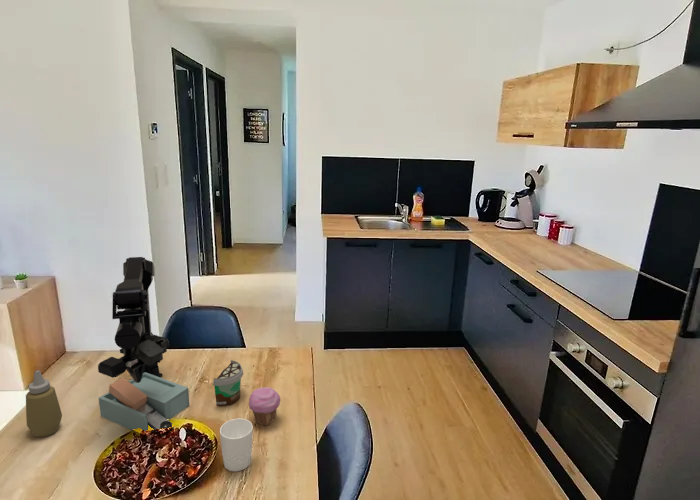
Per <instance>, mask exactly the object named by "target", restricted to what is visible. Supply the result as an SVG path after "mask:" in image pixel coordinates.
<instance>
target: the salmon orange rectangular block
mask: <svg viewBox="0 0 700 500" xmlns="http://www.w3.org/2000/svg"><path fill="white" fill-rule="evenodd" d="M108 392H109V393H111V394H112V395H113V396H115V397H116V398H117V399H118V400H120V401H121V402H122V403H124V404H125V405H126V406H127V407H129V408H132V409H134V410H135V409H137V408H139V407H140V406H142V405H144V404H145V403H146V401H147V395H146V394H144V393H143V392H142V391H140V390H139V389H138V388H136V387H135V386H134V385H132V384H131V383H130V382H128V380H127V379H126V378H124V377H121V378H120V379H118V380H116V381H114V382H113V383H111V384H109V387H108Z"/></svg>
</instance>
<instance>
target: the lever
mask: <svg viewBox="0 0 700 500" xmlns="http://www.w3.org/2000/svg"><path fill="white" fill-rule="evenodd" d="M115 400H117V401H118V402H119V403H121V404H122V405H125V404H124V403H122V402H121V401H120V400H118V399H117V398H116V399H115ZM125 406H126V405H125ZM135 410H137V411H139V412H142V413H144V414H146V415H147V423H148V425H149V426H150V427H151V428H153V429H154V431H155V430H156V429H160V428H161V429H162V428H169V427H172V424H173V423H172V422H171V421H170V420H167V419H166V418H164V417H163V416H162V415H160V414H159V413H158V412H157V411H156V410H155V409H153V408H151V407H150V406H149V405H147V404H146V403H145V404H144V405H142V406H140V407H139V408H137V409H135Z"/></svg>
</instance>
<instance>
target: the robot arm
mask: <svg viewBox="0 0 700 500" xmlns="http://www.w3.org/2000/svg"><path fill="white" fill-rule="evenodd" d="M122 267H123V271H122V272H123V274H122V275H123V276H124V277H123V281H122V282H120V283H118V284H117V285H116V288H115V291H113V292H112V312H111V313H112V316H111V317H112V320H119V322H118V323H119V324H118V326H117V329H116V333H115V336H114V343H115V345H116V346H117V347H119V348H120V349H119V354H122V356H121V357H119V358H117V357H114V356H110V357H107V358H106V359H104V360H102V361H100V362H99V363H98V365H97V371H98V373H99V374H102V375H104V376H107V377H110V378H116V377H118V376H121V375H123V374H124V373H125V372H126V371H127V372H128V374H129V376H131V378H132V379H134V381H135V382H136V383H139V382H141V379H142V376H143V373H145V372H146V373H149V374H152V375H155V376H157V377H160V378H162V377H163V376H164V374H163V373H160V367H159V364H160V363H161V361H163V360H164V356H163V355H164V354H165V353H167V350H168V349H169V348H170V344H169V343H170V342H169V340H168V338H166V337H163V336H159V335H157V334H153V332H152V326H151V310H150V296H149V295H150V294H149V288H150V286H151V284H152V282H153V279H154V277H155V275H156V274H155V265H154V262H153V261H151V260H149V259H147V258H146V257H143V256H132V257H127V258H126V259H125V262H123V264H122ZM117 310H118V311H117Z"/></svg>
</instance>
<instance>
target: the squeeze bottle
mask: <svg viewBox="0 0 700 500" xmlns="http://www.w3.org/2000/svg"><path fill="white" fill-rule="evenodd" d="M25 410H26V411H25V413H26V416H25V417H26V419H25V420H26V426H27V428H28V429H29V431H30V432H31V433H32V435H33V436H34V437H35V438H36V437H37V438H38V437H39V438H42V437H47V436H50V435H52V434H55V432H57V431H58V430H59V428H60V425H61V421H62V418H63V414H62V410H61V407H60V403H59V400H58V396H57V393H56V390H55V387H54V386H51V383H50V380H48V379H45V378H44V376H43V374H42V372H41V370H39V369H38V370H34V374H33V381H32V382H30V383H29V385H28V392H27V393H26V394H25Z"/></svg>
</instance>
